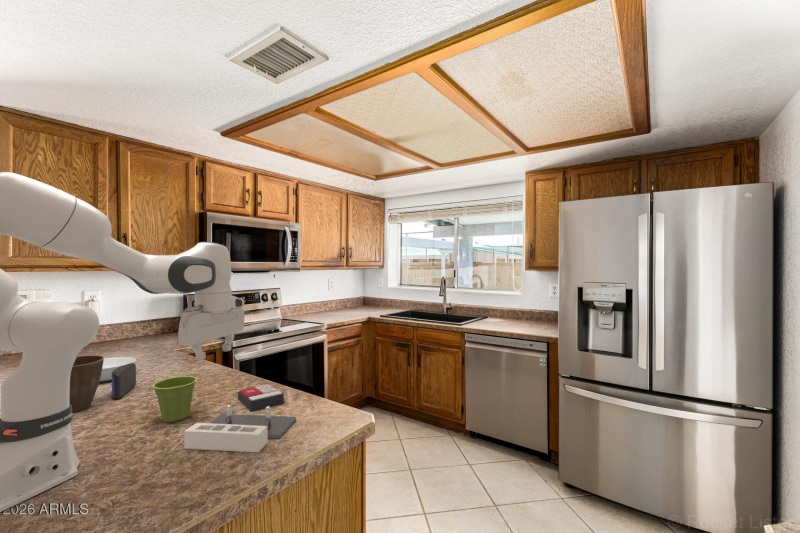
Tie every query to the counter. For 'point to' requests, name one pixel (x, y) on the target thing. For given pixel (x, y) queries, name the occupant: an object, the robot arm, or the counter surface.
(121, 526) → the counter surface
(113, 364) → the serving bowl
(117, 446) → the counter surface
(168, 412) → the plant pot
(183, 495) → the counter surface
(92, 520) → the counter surface
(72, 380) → the plant pot
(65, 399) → the robot arm
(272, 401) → the calculator
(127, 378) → the dark grey slab
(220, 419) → the mounting plate
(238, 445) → the power strip
